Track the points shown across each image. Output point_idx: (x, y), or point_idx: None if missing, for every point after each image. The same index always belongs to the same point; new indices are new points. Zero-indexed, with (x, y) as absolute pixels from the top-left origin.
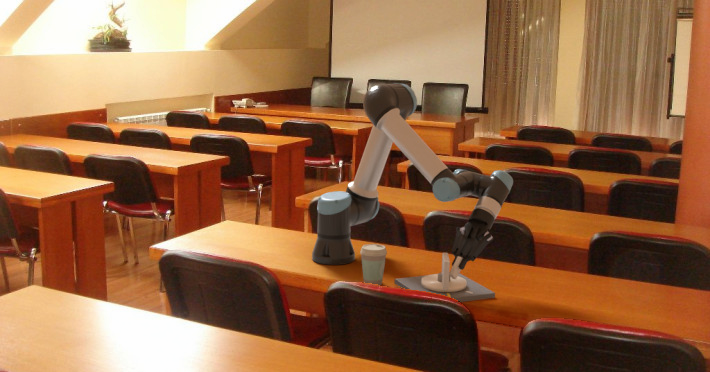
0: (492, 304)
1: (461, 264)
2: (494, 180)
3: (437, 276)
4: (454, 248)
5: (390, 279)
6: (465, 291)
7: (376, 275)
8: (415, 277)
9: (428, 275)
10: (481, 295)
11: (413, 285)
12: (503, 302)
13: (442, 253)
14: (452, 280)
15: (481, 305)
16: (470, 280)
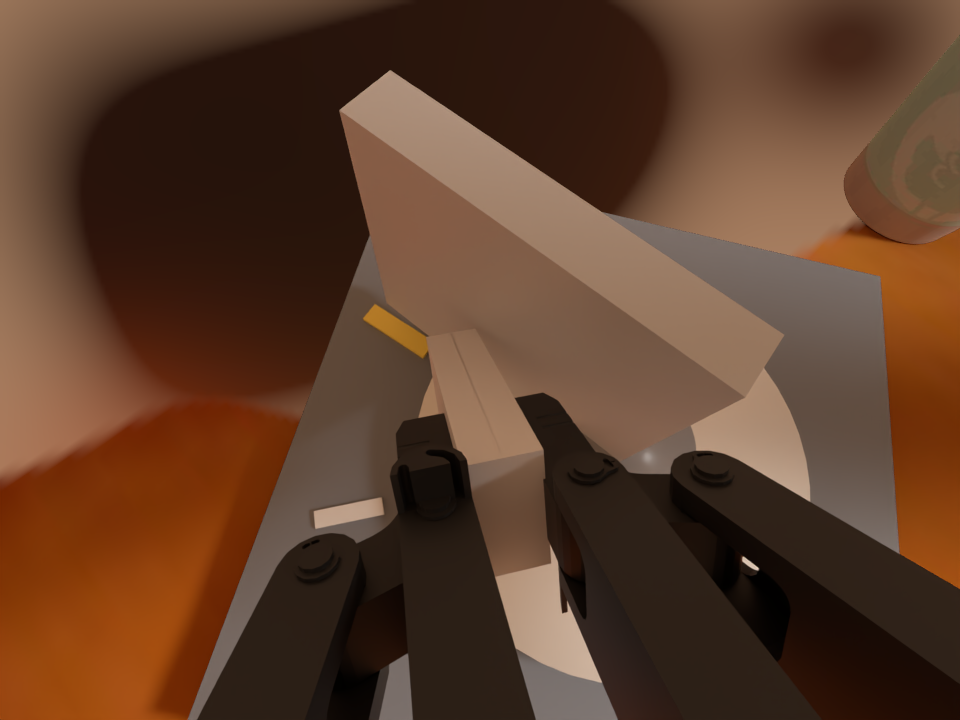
0: (118, 557)
1: (419, 442)
2: None
3: None
4: (770, 514)
5: (945, 324)
6: (378, 497)
7: (890, 128)
8: (870, 416)
9: (792, 439)
10: (246, 570)
11: None
12: (71, 688)
13: (773, 339)
14: None
15: (171, 463)
16: None
